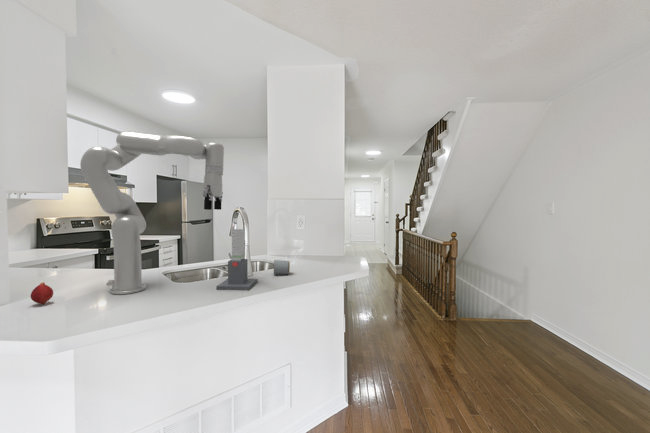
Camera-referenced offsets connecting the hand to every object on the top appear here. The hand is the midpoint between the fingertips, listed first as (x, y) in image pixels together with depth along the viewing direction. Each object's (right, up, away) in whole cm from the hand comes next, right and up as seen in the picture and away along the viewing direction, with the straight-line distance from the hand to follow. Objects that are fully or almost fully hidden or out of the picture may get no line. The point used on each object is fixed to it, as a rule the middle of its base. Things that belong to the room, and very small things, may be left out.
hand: (212, 209), depth 133 cm
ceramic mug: (+27, -34, +23) cm, 49 cm away
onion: (-51, -35, -27) cm, 67 cm away
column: (+11, -27, 0) cm, 29 cm away
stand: (+11, -34, 0) cm, 36 cm away
